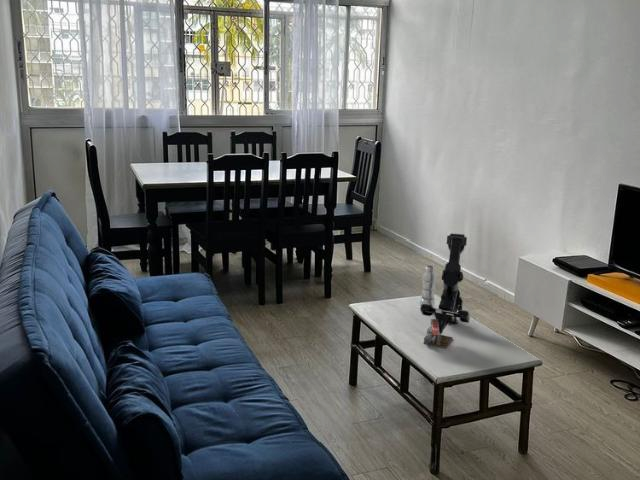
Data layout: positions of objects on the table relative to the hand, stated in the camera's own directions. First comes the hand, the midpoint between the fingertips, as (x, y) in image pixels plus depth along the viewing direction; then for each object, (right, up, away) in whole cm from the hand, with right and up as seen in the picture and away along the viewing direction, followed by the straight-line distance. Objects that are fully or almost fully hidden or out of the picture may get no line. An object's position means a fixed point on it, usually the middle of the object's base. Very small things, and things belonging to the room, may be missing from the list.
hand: (440, 333), depth 241 cm
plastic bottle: (+3, +5, +44) cm, 45 cm away
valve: (+1, -5, +10) cm, 11 cm away
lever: (-1, +1, +4) cm, 5 cm away
